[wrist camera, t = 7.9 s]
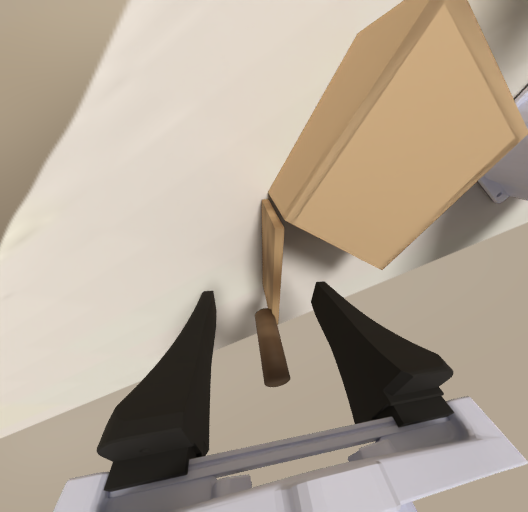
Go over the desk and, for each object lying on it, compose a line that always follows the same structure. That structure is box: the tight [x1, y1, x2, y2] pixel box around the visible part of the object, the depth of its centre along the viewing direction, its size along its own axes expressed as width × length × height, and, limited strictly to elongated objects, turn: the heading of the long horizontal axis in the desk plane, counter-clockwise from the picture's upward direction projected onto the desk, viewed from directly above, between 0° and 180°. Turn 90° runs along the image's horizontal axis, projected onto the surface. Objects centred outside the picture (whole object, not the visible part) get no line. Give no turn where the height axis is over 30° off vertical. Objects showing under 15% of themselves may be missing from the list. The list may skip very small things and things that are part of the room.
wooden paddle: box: [255, 199, 290, 387], centre depth 15 cm, size 10×2×11 cm, turn 0°
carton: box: [268, 0, 528, 270], centre depth 14 cm, size 10×11×6 cm
